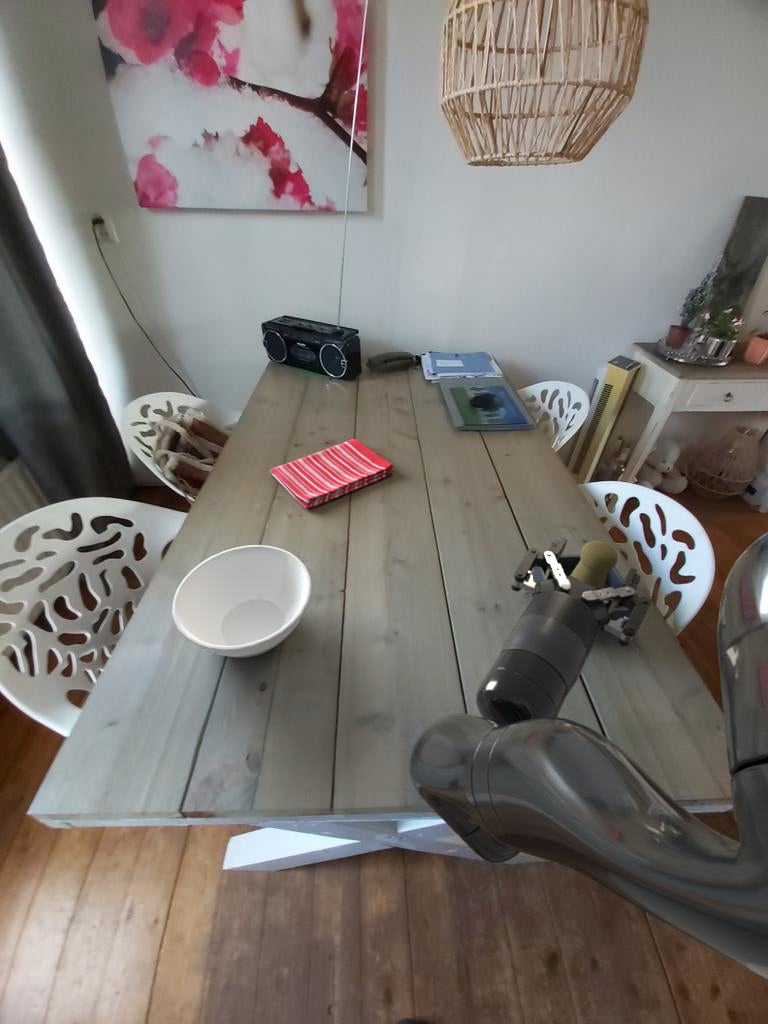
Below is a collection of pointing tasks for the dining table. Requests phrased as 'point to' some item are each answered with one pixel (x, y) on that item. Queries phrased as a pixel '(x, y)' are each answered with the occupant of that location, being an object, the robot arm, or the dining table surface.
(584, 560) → the cork
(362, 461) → the dish towel
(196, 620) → the bowl
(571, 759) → the robot arm
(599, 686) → the dining table surface
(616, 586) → the square tray
